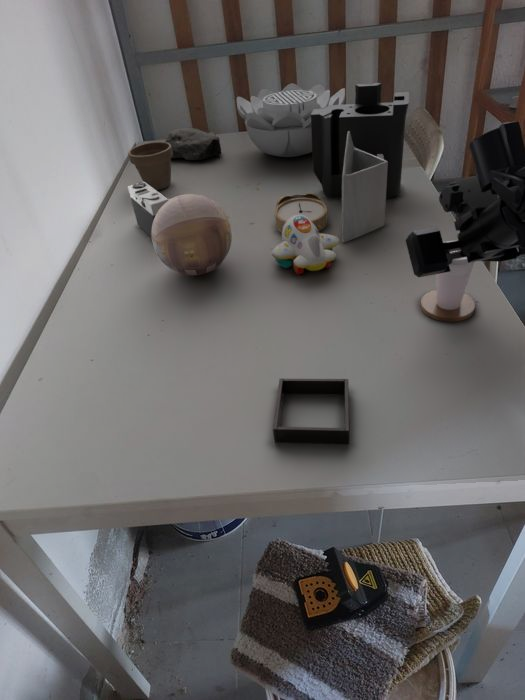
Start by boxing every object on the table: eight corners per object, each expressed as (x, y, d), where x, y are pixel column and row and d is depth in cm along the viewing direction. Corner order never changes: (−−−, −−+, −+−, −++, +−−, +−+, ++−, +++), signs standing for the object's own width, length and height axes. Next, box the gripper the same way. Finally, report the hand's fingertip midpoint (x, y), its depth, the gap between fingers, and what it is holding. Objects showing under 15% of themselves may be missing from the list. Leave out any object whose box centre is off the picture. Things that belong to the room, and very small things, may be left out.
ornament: (248, 255, 105) (239, 183, 96) (216, 295, 94) (202, 218, 85) (184, 248, 110) (169, 179, 101) (146, 285, 100) (126, 212, 90)
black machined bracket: (401, 199, 118) (409, 95, 104) (312, 199, 123) (308, 100, 109) (402, 179, 127) (410, 81, 113) (319, 180, 132) (316, 86, 118)
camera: (193, 235, 114) (184, 191, 108) (159, 247, 112) (148, 203, 105) (168, 215, 124) (159, 174, 118) (136, 225, 121) (125, 184, 115)
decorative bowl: (363, 158, 141) (365, 99, 131) (257, 178, 137) (251, 118, 128) (327, 129, 164) (326, 76, 154) (236, 145, 160) (229, 92, 151)
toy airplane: (283, 248, 88) (258, 211, 99) (285, 290, 94) (261, 250, 105) (355, 232, 91) (322, 197, 102) (352, 274, 97) (321, 236, 108)
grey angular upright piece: (381, 243, 103) (386, 144, 91) (341, 242, 105) (341, 145, 93) (386, 208, 115) (391, 117, 103) (351, 208, 117) (351, 118, 105)
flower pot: (130, 187, 141) (120, 149, 135) (166, 174, 146) (158, 138, 140) (149, 198, 134) (139, 159, 127) (186, 184, 138) (179, 146, 132)
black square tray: (348, 392, 72) (348, 378, 70) (349, 444, 65) (349, 430, 63) (280, 391, 73) (279, 378, 72) (274, 442, 66) (272, 429, 64)
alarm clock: (276, 227, 107) (271, 187, 117) (278, 246, 111) (273, 206, 121) (330, 221, 107) (321, 181, 116) (330, 240, 110) (321, 200, 120)
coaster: (469, 292, 87) (469, 288, 87) (479, 321, 81) (480, 317, 81) (417, 293, 89) (418, 289, 88) (423, 322, 82) (424, 318, 82)
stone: (156, 157, 151) (157, 122, 150) (166, 165, 159) (167, 131, 158) (216, 158, 148) (218, 122, 147) (223, 166, 157) (225, 132, 156)
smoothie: (452, 319, 81) (464, 237, 72) (419, 303, 85) (427, 224, 76) (477, 303, 83) (493, 222, 75) (444, 288, 88) (455, 210, 79)
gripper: (553, 152, 67) (492, 202, 83) (417, 176, 65) (380, 222, 81) (577, 233, 66) (510, 268, 81) (439, 260, 64) (397, 291, 80)
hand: (449, 260), depth 81 cm, fingers closed on smoothie, 6 cm apart
